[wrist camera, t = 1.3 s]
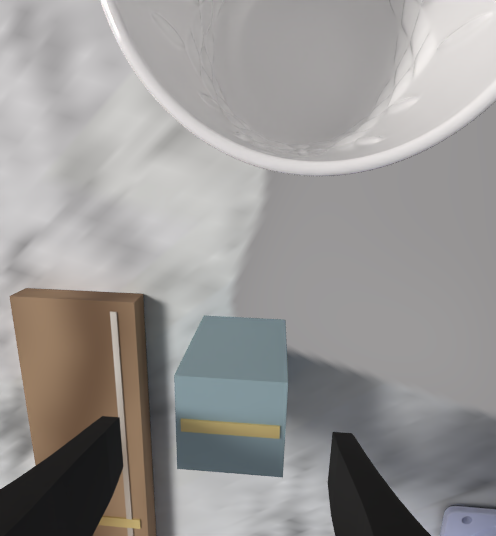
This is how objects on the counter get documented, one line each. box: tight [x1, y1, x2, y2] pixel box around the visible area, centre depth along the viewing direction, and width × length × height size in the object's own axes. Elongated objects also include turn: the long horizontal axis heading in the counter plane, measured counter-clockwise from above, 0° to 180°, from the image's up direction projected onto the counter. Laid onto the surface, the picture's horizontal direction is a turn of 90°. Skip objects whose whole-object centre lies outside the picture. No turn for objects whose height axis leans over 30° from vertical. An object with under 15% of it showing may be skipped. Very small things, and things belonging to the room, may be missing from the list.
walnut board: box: [10, 288, 156, 536], centre depth 20 cm, size 6×18×1 cm, turn 179°
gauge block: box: [174, 316, 288, 477], centre depth 16 cm, size 4×4×6 cm
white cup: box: [100, 0, 496, 176], centre depth 10 cm, size 8×8×10 cm
